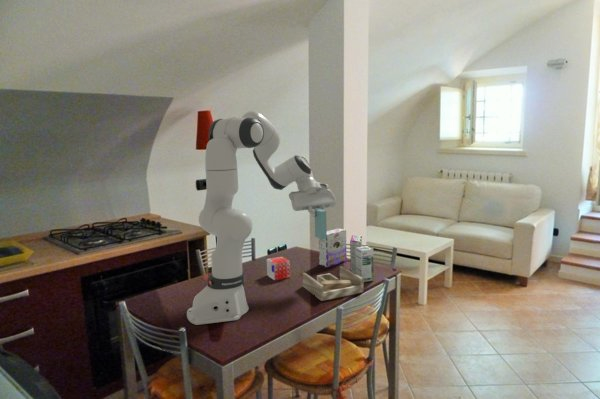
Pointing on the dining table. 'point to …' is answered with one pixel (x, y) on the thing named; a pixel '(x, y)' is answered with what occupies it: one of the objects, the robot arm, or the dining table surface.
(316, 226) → the teal panel
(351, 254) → the candy bar box
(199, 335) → the dining table surface
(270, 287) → the dining table surface
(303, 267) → the dining table surface
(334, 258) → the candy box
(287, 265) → the red white patterned cube
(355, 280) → the frame
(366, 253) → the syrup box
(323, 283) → the upper offcut
